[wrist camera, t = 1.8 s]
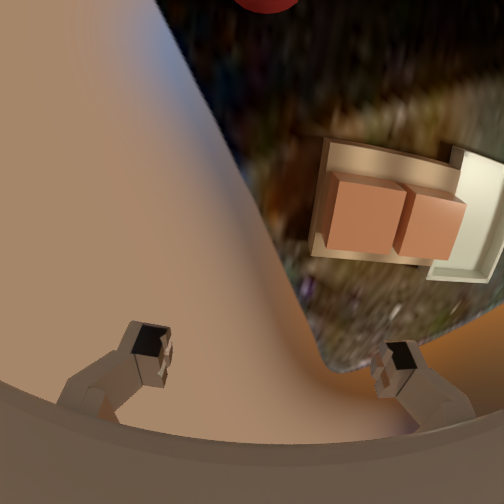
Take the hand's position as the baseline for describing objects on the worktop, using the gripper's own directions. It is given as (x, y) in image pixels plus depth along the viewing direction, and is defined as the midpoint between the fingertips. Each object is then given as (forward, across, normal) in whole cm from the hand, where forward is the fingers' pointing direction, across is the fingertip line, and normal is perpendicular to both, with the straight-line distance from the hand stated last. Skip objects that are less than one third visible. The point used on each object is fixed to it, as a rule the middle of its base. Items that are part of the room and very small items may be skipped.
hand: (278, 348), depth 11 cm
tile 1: (+18, -8, 0) cm, 19 cm away
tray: (+20, -25, 0) cm, 32 cm away
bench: (+20, -12, 0) cm, 24 cm away
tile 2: (+17, -15, 0) cm, 23 cm away
